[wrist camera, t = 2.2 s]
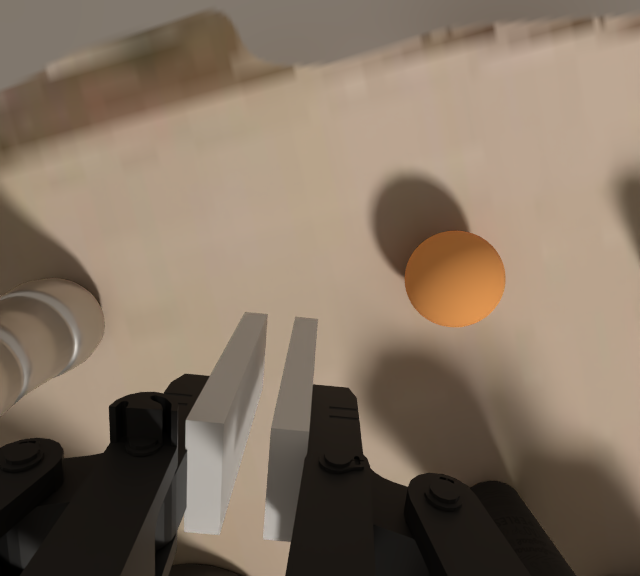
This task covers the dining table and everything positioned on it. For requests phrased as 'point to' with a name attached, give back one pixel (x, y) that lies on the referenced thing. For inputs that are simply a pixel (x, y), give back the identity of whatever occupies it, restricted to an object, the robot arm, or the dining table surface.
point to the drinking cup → (521, 530)
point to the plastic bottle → (44, 334)
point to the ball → (455, 278)
